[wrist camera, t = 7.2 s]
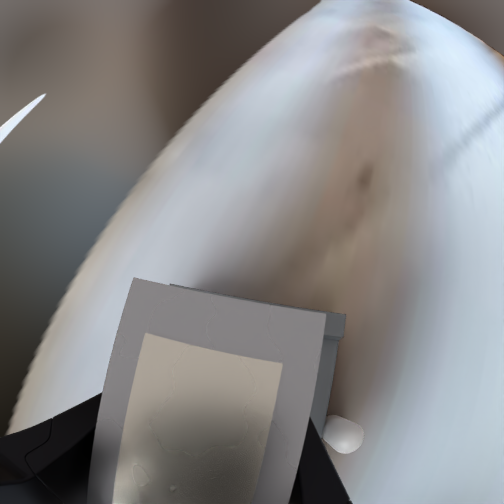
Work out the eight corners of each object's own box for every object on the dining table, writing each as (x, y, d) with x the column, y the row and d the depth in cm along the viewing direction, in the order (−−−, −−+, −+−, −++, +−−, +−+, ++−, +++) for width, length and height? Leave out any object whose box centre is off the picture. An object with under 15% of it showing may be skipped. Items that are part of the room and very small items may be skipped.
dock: (326, 501, 12) (339, 524, 9) (120, 455, 13) (92, 466, 10) (360, 327, 17) (381, 313, 13) (158, 291, 18) (137, 271, 15)
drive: (260, 489, 12) (253, 602, 3) (179, 470, 12) (83, 548, 3) (289, 355, 15) (327, 312, 6) (208, 340, 16) (132, 275, 7)
